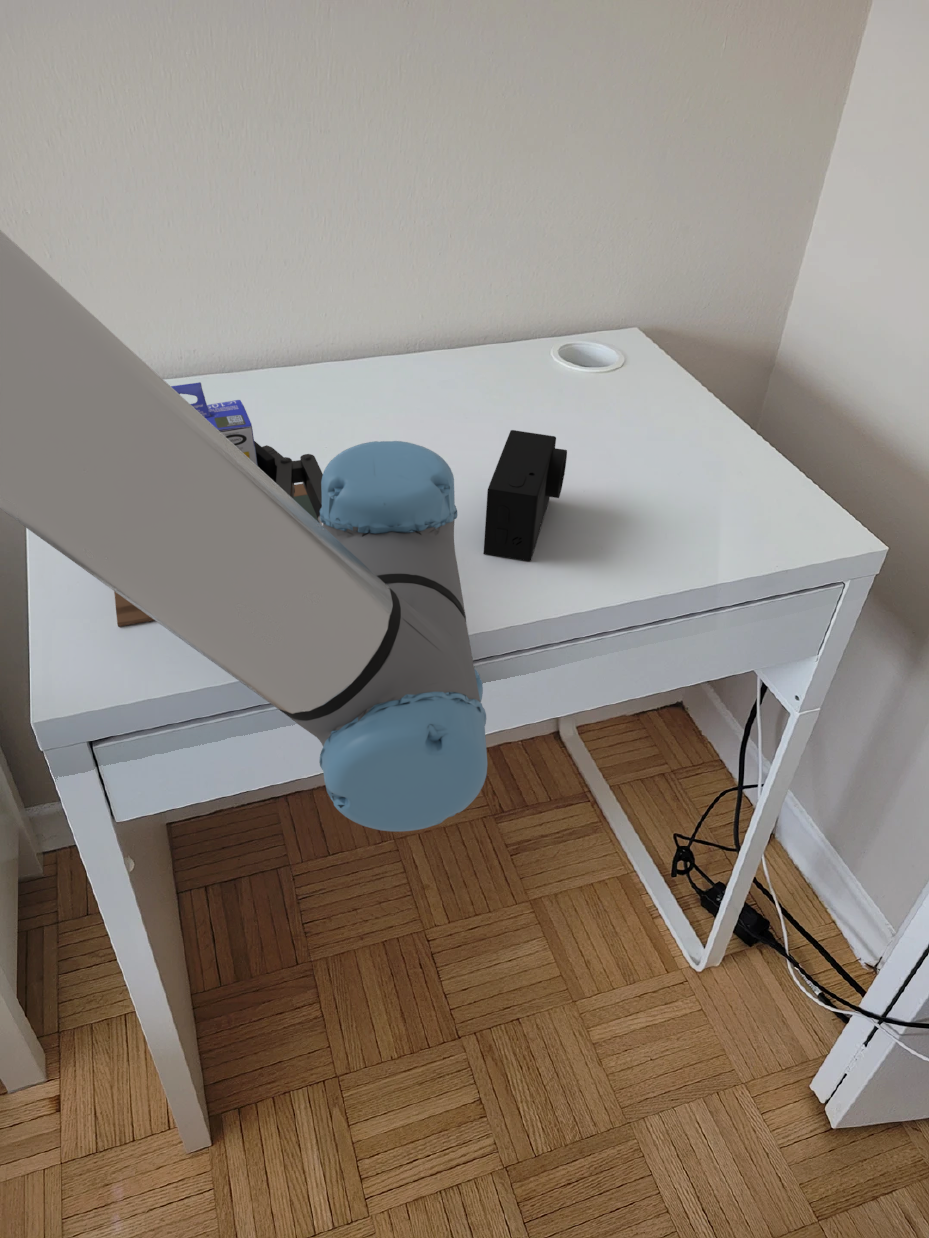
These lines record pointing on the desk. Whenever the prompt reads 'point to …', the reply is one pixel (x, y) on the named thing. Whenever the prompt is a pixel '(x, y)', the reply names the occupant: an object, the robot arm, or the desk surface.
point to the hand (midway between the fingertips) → (174, 460)
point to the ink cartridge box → (224, 418)
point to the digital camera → (522, 493)
